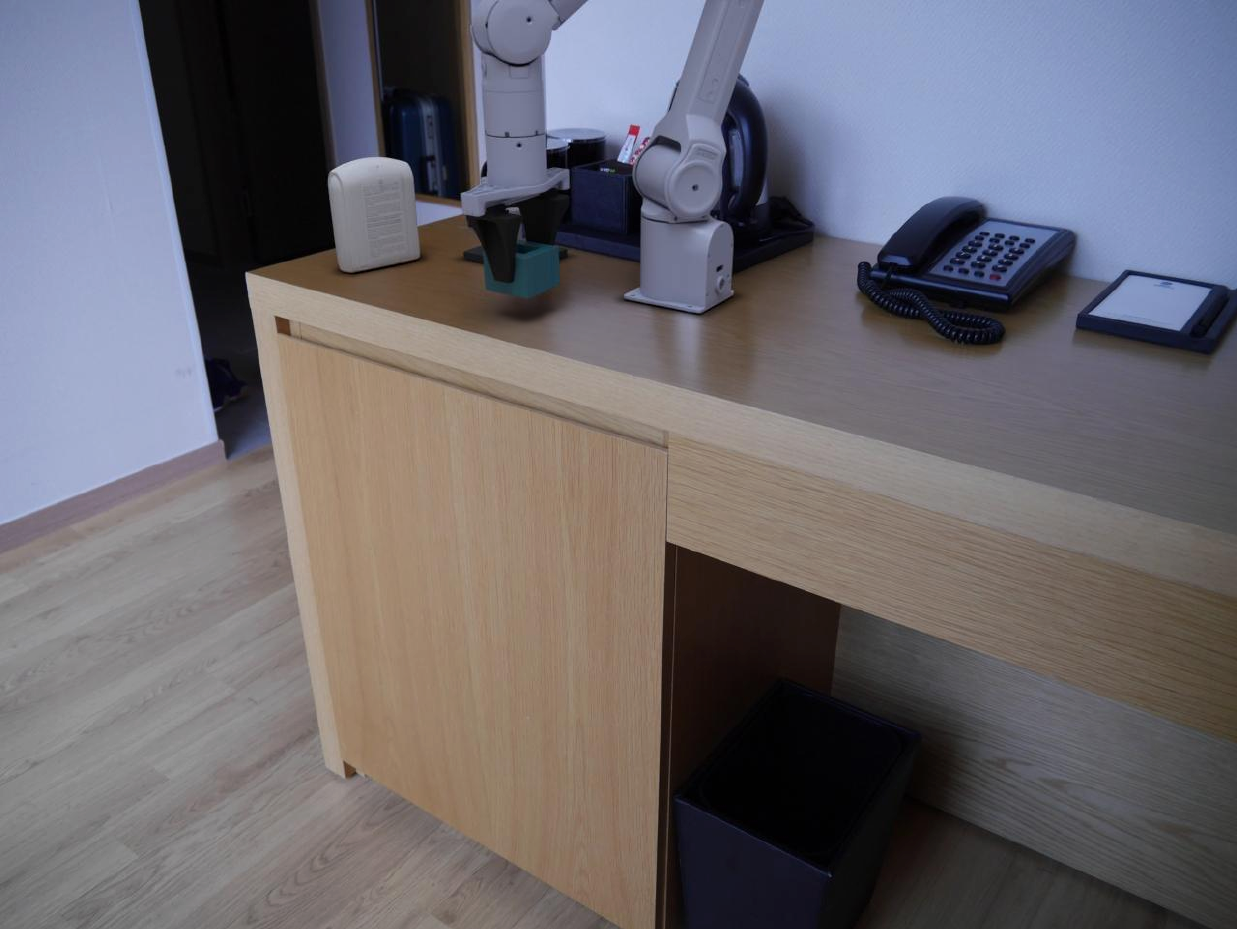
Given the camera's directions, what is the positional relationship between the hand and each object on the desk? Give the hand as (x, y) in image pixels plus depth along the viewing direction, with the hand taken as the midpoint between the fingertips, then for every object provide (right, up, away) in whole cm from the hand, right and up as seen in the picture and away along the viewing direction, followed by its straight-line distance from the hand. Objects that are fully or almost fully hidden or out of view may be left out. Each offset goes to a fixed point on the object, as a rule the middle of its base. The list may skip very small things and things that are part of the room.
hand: (522, 273), depth 97 cm
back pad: (-3, +6, +21) cm, 22 cm away
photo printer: (-19, +5, +19) cm, 27 cm away
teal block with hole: (0, -1, +1) cm, 1 cm away
